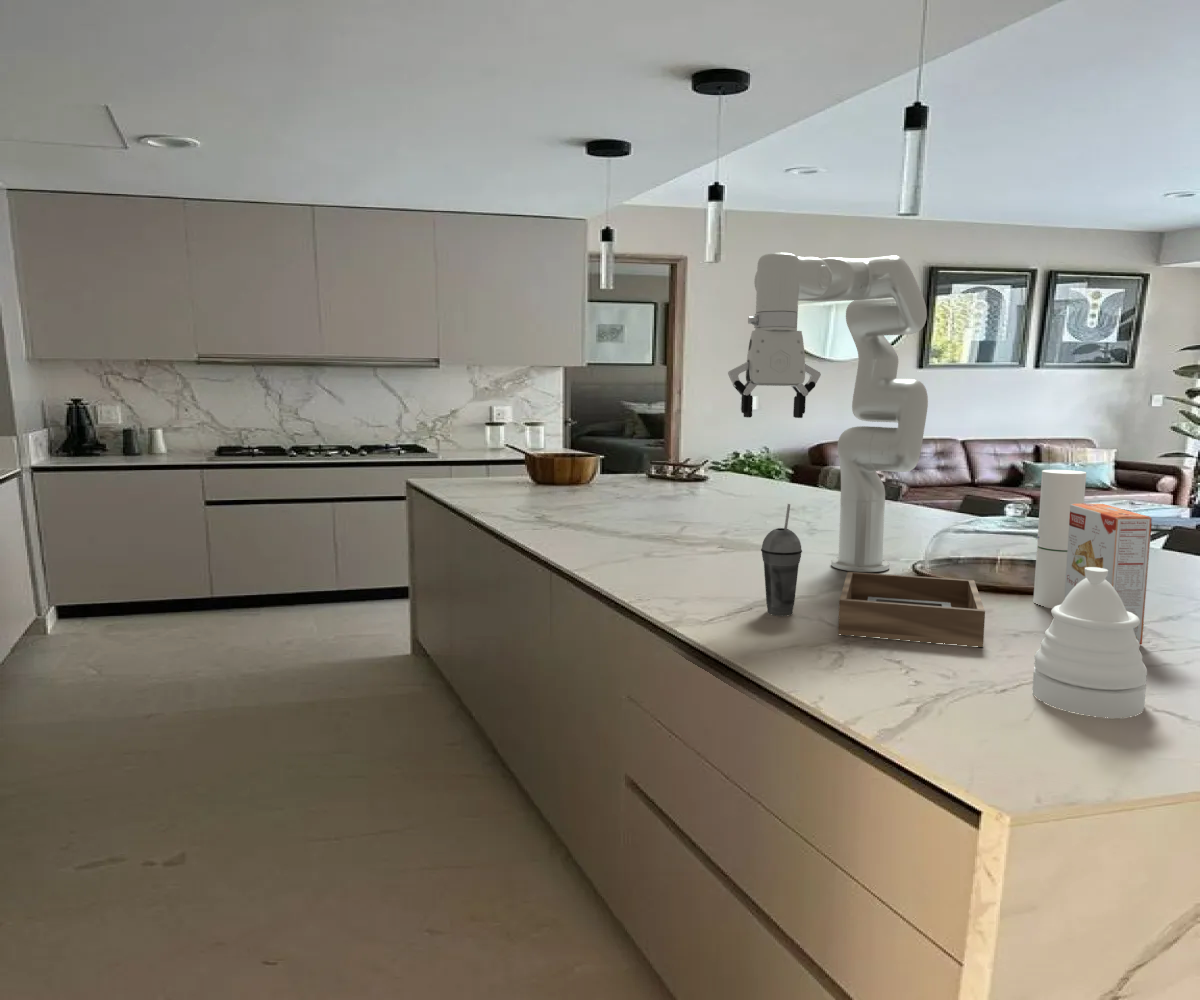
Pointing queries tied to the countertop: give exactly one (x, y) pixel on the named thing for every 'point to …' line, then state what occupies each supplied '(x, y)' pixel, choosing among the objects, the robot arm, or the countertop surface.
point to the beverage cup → (781, 568)
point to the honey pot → (1091, 653)
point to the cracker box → (1111, 552)
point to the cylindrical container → (1055, 533)
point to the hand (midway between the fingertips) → (772, 417)
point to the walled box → (912, 608)
